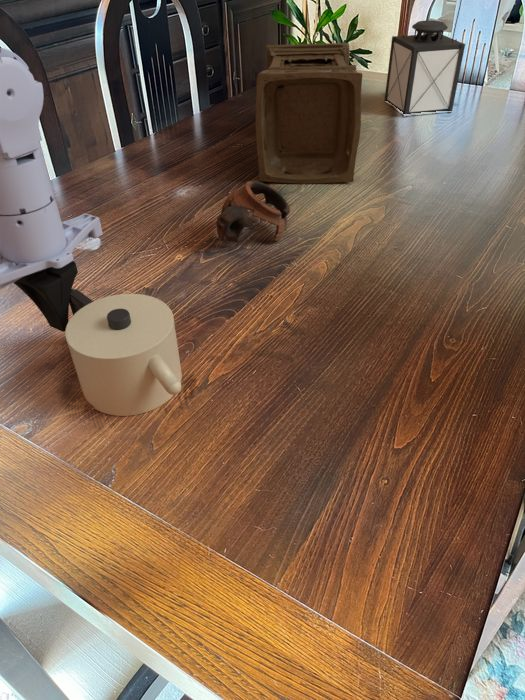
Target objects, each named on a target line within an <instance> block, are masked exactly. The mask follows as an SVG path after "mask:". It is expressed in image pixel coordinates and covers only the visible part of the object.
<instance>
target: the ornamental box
mask: <svg viewBox="0 0 525 700" xmlns="http://www.w3.org/2000/svg"><path fill="white" fill-rule="evenodd" d="M350 52H351V51H350V43H348V42H334V43H331V42H330V43H329V42H328V43H296V44H295V43H293V44H291V43H290V44H275V45H274V44H271V45H270V44H266V45H265V70H262V71H261V72H260V71H259V73H257V75H256V94H255V95H256V97H255V145H256V154H257V163H258V178H257V181H258V182H262V183H265V182H267V183H279V184H298V185H299V184H300V185H309V184H312V185H314V184H327V183H328V184H330V183H354V181H355V168H356V160H357V155H358V149H359V143H360V138H361V127H362V87H363V86H362V84H363V73H362V72H358V71H357V65H356V64H350V55H351V54H350Z"/></svg>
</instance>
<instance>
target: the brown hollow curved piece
mask: <svg viewBox="0 0 525 700" xmlns="http://www.w3.org/2000/svg"><path fill="white" fill-rule="evenodd" d="M256 195H263V197H264V199H265V202H263V201H261V200H260V199H259V198H258V197H257V196H256ZM268 204H269V205H268ZM270 205H271V206H273V207H274V208H273V207H271V206H270ZM249 211H251V212H252V214H251V216H252V217H255V218H258V219H260V221H264V222H268V223H269V224H270V225H273V226H276V230H275V233H274V235H273V241H274V242H280V240H281V239H282V237H283V236H284V233H285V232H286V231H287V227H288V218H287V217H288V215H289V214H290V212H291V206H290V204H289V203H288V202H287V200H286V198H284V196H282V194H281V193H280V192H278V191H277V190H276V189H275V188H273V187H271V186H270V185H268V184H266V183H265V182H262V181H258V180H248V181H246V182H245V183H244V186H243V187H240V188H238V189H237V188H236V189H235V190H234V191H232V192H231V193H230V194H229V195H228V196H227V198H225V200H224V203H223V204H222V208H221V211H220V214H219V215H218V216H217V218H216V223H215V225H216V233H217V236H218V237H219V239H220V240H221V241H225V238H226V240H227V241H229V242H234V243H237V242H239V240H240V236H241V233H242V231H243V230H244V228H245V226H247V224H248V222H249V218H250V212H249Z"/></svg>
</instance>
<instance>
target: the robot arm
mask: <svg viewBox="0 0 525 700" xmlns="http://www.w3.org/2000/svg"><path fill="white" fill-rule="evenodd" d="M44 99H45V97H44V86H43V83H42V82H41V81H38V80H35V78H34V75H33V73H31V71H30V67H29V66H28V64H27V63H26V62H25V60H23V59H22V58H21V57H20V56H19V55H18V54H17V53H15V52H13V51H12V50H10V49H6V48H3V47H0V291H2V290H3V289H5V288H7V287H9V286H10V285H12V284H14V285H15V286H17V287H18V289H20V290H21V291H22V292H23V293H24V294H25V295H26V296H27V297H28V298H29V299H30V300H31V301H32V302H33V304H35V306H36V307H37V309H38V310H39V312H40V313H41V314H42V315H43V317H44V318H45V319H46V321H47V323H48V325H49V327H51V328H52V329H55V330H58V331H60V332H61V333H62V332H63V333H65V330H66V326H67V324H68V322H69V317H70V316H69V313H70V303H69V300H70V294H71V290H72V289H73V286H74V283H75V280H76V278H77V275H78V273H79V271H78V266H77V263H76V261H74V260H75V259H74V255H73V251H74V250H75V249H76V248H77V247H78V246H79V245H80V244H82V243H84V242H86V241H87V240H89V239H94V240H96V239H98V238H100V237H102V236H103V229H102V224H101V220H100V217H98V216H96V215H92V214H89V213H86V212H84V213H82V214H80V215H78V216H76V217H73V218H70V219H68V220H63V221H62V218H61V215H60V211H59V207H58V204H57V200H56V199H57V198H56V196H55V192H54V188H53V184H52V181H51V177H50V173H49V169H48V165H47V161H46V158H45V155H44V151H43V148H42V144H41V141H43V138H42V135H41V130H40V125H39V124H40V123H39V122H40V118H41V114H42V111H43V107H44Z"/></svg>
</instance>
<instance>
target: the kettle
mask: <svg viewBox="0 0 525 700" xmlns="http://www.w3.org/2000/svg"><path fill="white" fill-rule="evenodd" d="M69 308H70V311H71V313H72V316H71V317H70V319H68V324H67V326H66V330H65V332H64V336H65V340H66V344H67V347H68V351H69V353H70V356H71V359H72V362H73V365H74V369H75V372H76V375H77V378H78V381H79V385H80V389H81V391H82V394H83V397H84V398H85V400H86V401H87V402H88V403H89V404H90V405H91V406H92V408H93V409H95V410H96V411H98V412H100V413H103V414H106V415H110V416H116V417H129V416H130V417H131V416H136V415H141V414H145V413H148V412H151V411H153V410H156V409H158V408H159V407H161V406H162V405H164V404H166V403H167V402H169V401H170V400H171V398H173V397H174V396H175V395H178V394H179V393H180V392H181V390H182V379H183V373H182V365H181V359H180V353H179V346H178V340H177V332H176V325H175V318H174V314H173V311H172V310H171V308H170V306H169V305H168V304H166V303H165V302H164V301H163V300H161V299H160V298H156V297H154V296H150V295H148V294H142V293H141V294H140V293H121V294H115V295H109V296H105V297H102V298H99V299H96V300H93V299H91V298H89V296H87V295H86V294H84V293H83V292H81V291H80V290H79V289H77V288H72V290H71V294H70V300H69Z"/></svg>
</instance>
